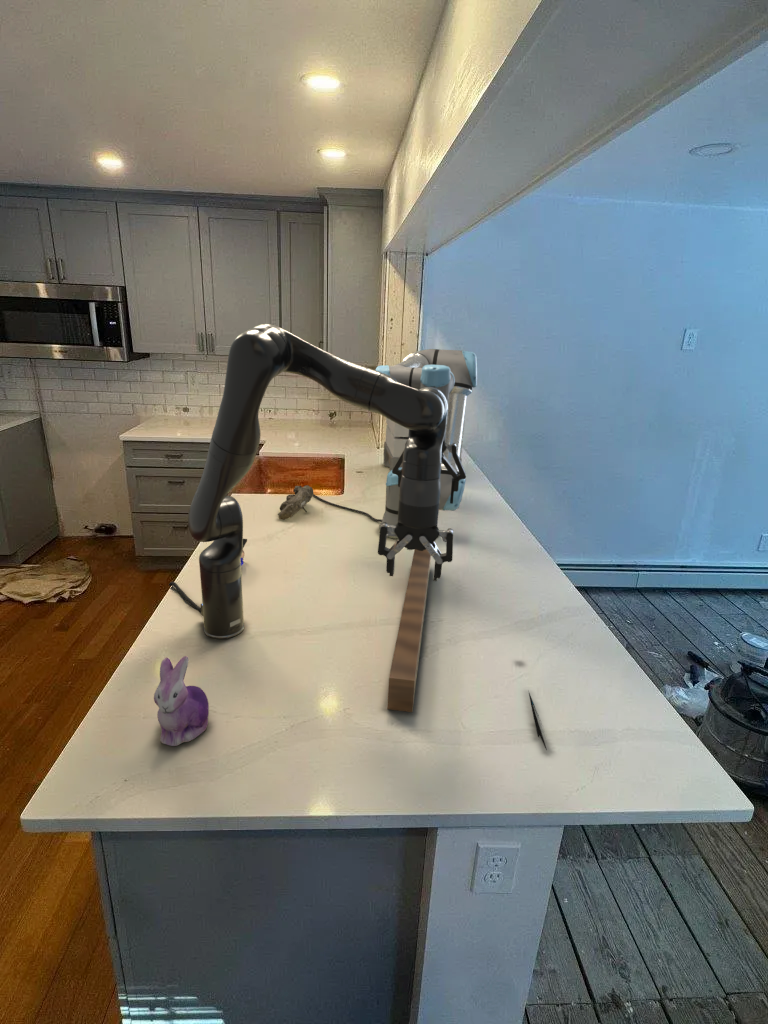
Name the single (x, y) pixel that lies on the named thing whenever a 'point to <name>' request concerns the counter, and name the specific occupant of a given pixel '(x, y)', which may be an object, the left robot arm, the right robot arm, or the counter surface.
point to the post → (409, 636)
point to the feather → (536, 721)
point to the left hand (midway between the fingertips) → (413, 576)
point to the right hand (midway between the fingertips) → (427, 500)
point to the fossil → (295, 502)
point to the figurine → (179, 705)
